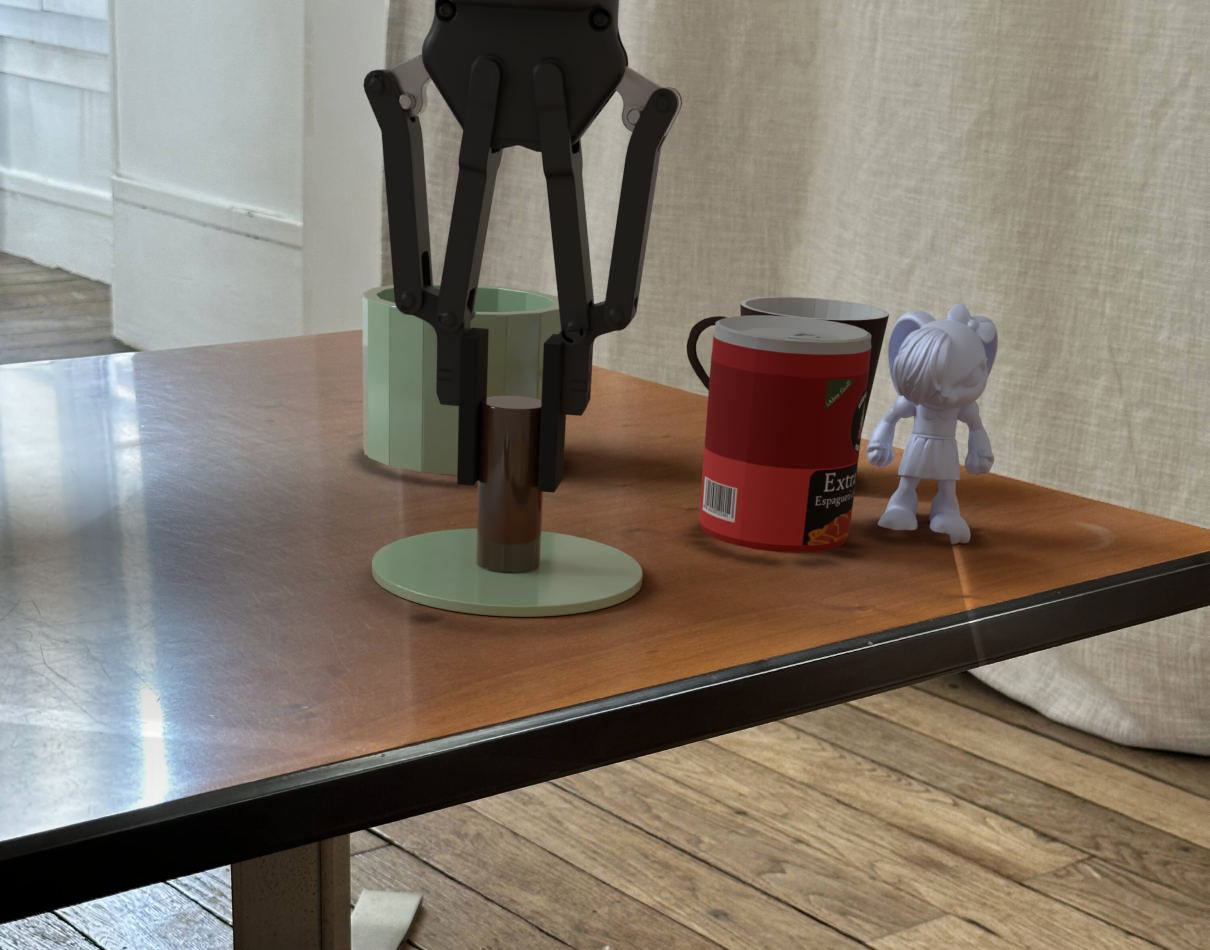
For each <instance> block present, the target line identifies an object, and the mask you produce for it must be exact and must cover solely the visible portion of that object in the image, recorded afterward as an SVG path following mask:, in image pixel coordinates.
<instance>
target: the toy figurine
mask: <svg viewBox="0 0 1210 950" xmlns="http://www.w3.org/2000/svg"><path fill="white" fill-rule="evenodd" d="M887 343H888V344H887V361H888V369H889V375H890V378H891V383H892V385H893V388H894V390H895V392H896V394H897V397H896V398H895V400H894V402H893V406H891V407H889V409H888V410H887V411H886V413H885V414H884V416H883V417H882V418H881V419H880V421H879V422H878V423H877V425H876V426H875V428H874V429H873V432H872V433H871V435H870V438H869V440H868V444H867V446H866V449H865V454H866V455H865V456H866V458H867V462H868V463H869V465H871V466H876V467H877V468H887V467H888V466H890V465H891V464H892V463H894V461H895V458H896V454H895V450H894V448H893V444H894V443H893V442H894V440H895V439H894V438H895V433H896V431H895V430H896V425H897V423H898V422H899V421H900V420H901V419H908V418H912V417H913V425H912V430H911V434H910V435H909V438H908V440H907V442H906V445H905V448H904V450H903V454H902V458H901V460H900V464H899V467H898V471H897V475H898V476H899V477H900V476H901V477H900V480H899V484H898V487H897V489H896V490H895V491H894V492H893V494H892V495H891V497H890V498H889V501H888V503H887V505H886V509H885V511H884V513H883V514H882V515H881V517H880V518H879V520H878V521H877V525H878V526H879V527H882V528H884V529H885V528H886V529H890V530H894V531H915V530H917V529H918V520H917V512H918V501H919V499H918V494H917V492H916V490H917V487H918V485H919V484H920V482H921V480H931V481H936V485H937V489H938V491H937V493H935V495H934V497H933V499H932V501H931V505H930V509H929V510H930V511H929V517H928V521H929V522H930V523H929V528H930V530H931V531H932V532H935V533H940V534H947V535H949V539H950V544H951V545H957V544H968V543H969V542H970V540H971V529H970V527H969V525H968V523H967V521H966V520H965V519H964V518H963V517H962V516H961V511H960V505H959V501H958V498H957V495H956V494H957V493H956V487H957V486H956V485H957V481H960V479H961V465H960V458H959V447H958V442H957V439H956V435H957V434H956V433H957V425H958V421H959V422H961V423H964V424H966V425H967V428H968V439H967V453H966V456H965V458H964V469H965V470H966V472H967V473H968V474H969V475H974V476H980V475H987V474H989V473H990V471H991V469H992V467H993V466H994V462H995V455H994V453H993V451H992V444H991V441H990V438H989V436H988V433H987V431H986V429H985V427H984V425H983V422H982V417H981V415H980V406H979V404H978V402H977V400H978V399H979V398H980V397H981V396H982V395H983V393H984V392H985V390H986V387H987V384H988V380H989V376H990V375H991V372H992V369H993V367H994V364H995V360H996V357H997V353H998V348H999V347H998V346H999V335H998V329H997V327H996V324H995V323H994V322H993V319H991V318H989V317H987V316H985V315H981V314H980V315H979V314H978V315H976V314H975V315H971V313H970V310H969V309H968V308H967V306H966V305H965V304H964V303H955V304H954V305H953V306H952V307H951V308H950V309H949V310H948V312H947V314H946V319H935V317H934V316H933V315H931V314H930V313H927V312H926V311H922V310H910V311H907V312H905V313H903V314H902V315H901V316H899V317H898V319H897V320H896V322H895V323H894V325H893V327H892V329H891V331H890V335H889V338H888V342H887Z"/></svg>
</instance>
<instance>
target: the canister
mask: <svg viewBox="0 0 1210 950" xmlns="http://www.w3.org/2000/svg"><path fill="white" fill-rule="evenodd" d="M440 285H441V282H433V287H434V288H436V289H438V290H440ZM473 312H476V314H475V317H474V318H473V319H472V320H471V323H470V329H471V328H485V329H489V337H488V373H487V397H493V396H521V397H529V398H534V399H538V400H542V375H543V350H544V343H545V342H546V341H547V340H548V339H549V338H550V336H551V335H552V334H559V332H560V331H561V323H560V313H559V303H558V295H552V294H549V293H546V292H545V293H544V292H540V291H535V290H530V289H525V288H524V289H522V288H515V287H510V286H509V287H508V286H501V285H500V286H499V285H488V284H487V285H486V284H484V285H483V284H478V288H477V293H476V299H475V305H474V311H473ZM436 378H437V335H436V332H435V330H434V328H433V327H432V326H431V325H430V324H429V323H428V322H426V321H424V320H422V319H420V318H418V317H415V316H413V315H406V314H403V313H402V312H400V311H399V310H398V308H397V307H396V304H395V297H394V285H393V284H390V285H384V286H376V287H371V288H370V289H368V290H366V291H364V292H362V450H363V451H364V454H363V455H364V456H367V457H368V458H369V459H370V460H373V461H376V462H378V463H380V464H383V465H386V466H387V467H393V468H398V469H402V470H406V471H412V472H417V473H423V474H434V475H446V476H454V477H455V476H456V477H457V466H458V420H459V406H451V405H440V402H439V399H438V396H437V394H436V381H437V379H436Z"/></svg>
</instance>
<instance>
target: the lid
mask: <svg viewBox="0 0 1210 950" xmlns="http://www.w3.org/2000/svg"><path fill="white" fill-rule="evenodd" d="M540 425H541V400H538V399H534V398H529V397H521V396H493V397H487V398H484V399H482V400H481V401H480V421H479V459H478V481H477V504H476V527H474V528H472V527H471V528H456V529H455V528H454V529H445V530H436V531H431V532H425V533H420V534H414V535H411V536H410V535H409V536H407V537H404V538H401V539H397V540H395V541H393V542H390V543H388V544H386V545H384V546H383V547H381V548H379V550H377V551H376V552H375V553H374V555H373V556H372V560H371V575H372V578H373V579H374V581H375V582H376V583H377V585H379V586H380V587H381V588H383V589H384V590H385V591H387V592H389V593H391V594H393V595H395V596H397V597H400V598H402V599H405V600H407V601H411V602H413V603H415V604H420V605H423V606H427V607H430V608H434V609H440V610H445V611H450V612H456V613H457V612H458V613H461V614H462V613H463V614H472V615H479V616H480V615H481V616H492V617H510V618H511V617H513V618H514V617H515V618H533V617H535V618H538V617H539V618H540V617H557V616H558V617H559V616H567V615H575V614H583V613H588V612H594V611H597V610H602V609H603V610H604V609H606V608H610V607H612V606H616V605H618V604H620V603H623V602H625V601H627V600H629V599H630V598H632V597H634V596H635V595H636V594H637V593H638V592H639V591H640V590H641V588H642V586H643V579H644V578H643V577H644V571H643V569H642V566H641V565H640V563H639V562H638V561H637V560H636V559H635V558H634V557H632V556H631V555H629V554H627V553H626V552H625V551H622V550H620V549H618V548H616V547H614V546H610V545H608V544H605V543H602V542H599V541H596V540H592V539H589V538H584V537H579V536H576V535H570V534H566V533H559V532H552V531H545V530H543V513H544V512H543V508H544V506H543V505H544V492H540V491H538V475H539V450H540Z"/></svg>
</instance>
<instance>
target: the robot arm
mask: <svg viewBox="0 0 1210 950" xmlns="http://www.w3.org/2000/svg"><path fill="white" fill-rule="evenodd" d="M619 9H620V0H434V14H433V19H432V24H431V26H430V29H429V31H428V32H427V34H426V36H425V37H424V41H423V43H422V46H421V54H419V55H416V56H414V57H412V58H410V59H408V60H405V61H403V62H401V63H399V64H397V65H395V66H392V67H389V68H386V69H385V68H384V69H374V70H370V71H369V72H368V73H367V74H366V75H365V77H364V79H363V84H362V86H363V90H364V93H365V95H366V98H367V101H368V103H369V105H370V108H371V110H372V112H373V115H374V117H375V119H376V122H377V124H378V127H379V129H380V131H381V144H382V155H383V156H382V157H383V170H384V181H385V184H384V185H385V195H386V196H385V197H386V206H387V219H388V221H387V222H388V233H389V245H390V258H391V270H392V285H394V297H395V304H396V307H397V308H398V310H399V311H400V312H402V313H403V314H406V315H413V316H415V317H418V318H420V319H422V320H424V321H426V322H428V323H429V324H430V325H431V326H432V327H433V328H434V330H435V332H436V335H437V378H436V379H437V381H436V394H437V396H438V399H439V402H440V405H451V406H459V420H458V466H457V476H456V485H459V486H471V487H474V486H475V485H476V483H478V459H479V421H480V401H481V400H482V399H484V398H487V373H488V337H489V329H485V328H471V329H470V323H471V320H472V319H473V318H474V317H475V314H476V312H473V311H474V305H475V299H476V293H477V288H478V285H479V282H480V275H481V270H482V264H483V263H482V262H483V257H484V253H485V246H486V240H487V235H488V228H489V223H490V217H491V210H492V206H493V205H492V204H493V199H494V193H495V187H496V182H497V175H498V171H499V169H500V165H501V162H502V157H503V152H504V149H507V148H512V147H516V146H517V147H518V146H520V147H522V148H525V149H527V150H531V151H533V152H536V153H541V163H542V172H543V175H544V178H545V181H546V182H545V183H546V195H547V201H548V202H547V205H548V211H549V212H548V214H549V223H550V233H551V234H550V235H551V242H552V253H553V263H554V272H555V282H556V283H555V284H556V292H557V297H558V303H559V313H560V323H561V331H560V332H559V334H552V335H551V336H550V338H549V339H548V340H547V341H546V342H545V343H544V350H543V375H542V400H541V425H540V450H539V475H538V491H540V492H543V493H552V494H554V493H555V492H556V491H557V489H558V488H559V486H560V485H561V483H562V481H563V480H564V469H565V468H564V467H565V447H566V446H565V445H566V427H567V426H566V425H567V416H578V417H582V416H583V415H584V413H585V411H586V410H587V408H588V405H589V403H590V402H591V397H592V396H591V395H592V378H593V377H592V375H593V359H594V358H593V356H594V344H595V341H596V339H597V338H598V337H600V336H603V335H606V334H610V333H613V332H620V331H623V330H625V329H626V328H627V327H628V326H629V325H630V323H631V322H632V321H633V320H634V318H635V317H636V314H637V311H638V305H639V298H640V291H641V285H642V278H643V272H644V266H645V265H644V264H645V259H646V252H647V245H648V238H649V231H650V224H651V218H652V211H653V204H654V198H655V192H656V185H657V178H658V171H659V164H660V157H661V152H662V147H663V145H664V142H665V141H666V139H667V137H668V135H669V133H670V131H671V129H672V128H673V125H674V124H675V121H676V119H677V117H678V115H679V113H680V112H681V109H682V106H683V97H682V95H681V93H680V91H678V90H677V89H676V88H675V87H671V86H661V85H660V84H658V83H657V82H655V81H653V80H651V79H650V78H648V77H646V76H645V75H643V74H642V73H640V72H638V71H636V70H635V69H633V68H631V67H630V66H629V56H628V54H627V51H626V48H625V45H624V44H623V41H622V38H621V34H620V28H619ZM430 82H432V83H433V84H434V86H435V87H436V89H437V91H438V92H439V94H440V95H441V97H442V99H443V100H444V102H445V103H446V105H447V107H448V109H449V110H450V112H451V113H452V115H453V116H454V119H455V120H456V121H457V124H458V125H459V126H460V128H461V130H462V134H461V140H460V146H459V147H460V148H459V153H458V163H457V164H458V174H457V179H456V186H455V193H454V199H453V205H452V210H451V217H450V218H451V219H450V222H449V223H450V224H449V230H448V236H447V240H446V241H447V242H446V247H445V254H444V261H443V267H442V273H441V278H440V279H441V280H440V283H441V285H440V290H438V289H436V288H434V287H433V283H434V277H433V265H432V263H433V262H432V249H431V236H430V233H431V232H430V220H429V205H428V193H427V179H426V178H427V177H426V164H425V151H424V149H425V148H424V137H423V130H422V126H421V125H422V124H421V121H420V115H422V114H423V113H425V111H426V110H427V107H428V96H427V89H428V86H429V84H430ZM616 92H617V93H618V94H619V96H620V98H621V99H622V105H623V106H622V112H621V121H622V124H623V126H624V127H625V128H626V129H627V130H628V131H629V132H631V135H630V138H629V141H628V144H627V146H626V147H627V148H626V153H625V158H624V165H623V171H622V172H623V173H622V178H621V179H622V180H621V187H620V193H619V199H618V200H619V201H618V208H617V213H616V214H617V215H616V222H615V229H614V234H613V235H614V236H613V241H612V243H613V244H612V250H611V256H610V263H609V271H608V276H607V277H608V278H607V284H606V285H607V286H606V292H605V299H604V300H603V301H599V302H596V303H595V295H594V286H593V275H592V265H591V263H592V262H591V254H590V243H589V232H588V223H587V221H588V219H587V211H586V199H585V188H584V179H583V168H584V164H583V163H584V161H583V149H582V139H581V138H582V137H584V135H585V134H586V132H587V131H588V129H589V128H590V127H591V126H592V124H593V123H594V121H595V120H596V119H597V117H598V116H599V115H600V114H601V112H602V110H604V108H605V107H606V105H607V104H608V103H609V101H610V100H611V99H612V98H613V96H614V95H615V94H616Z"/></svg>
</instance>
